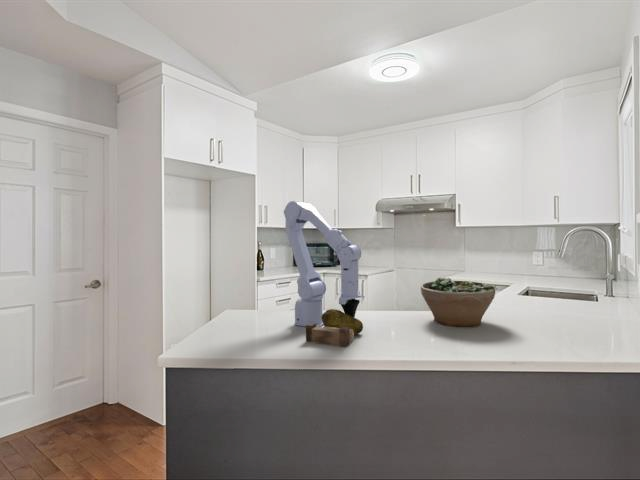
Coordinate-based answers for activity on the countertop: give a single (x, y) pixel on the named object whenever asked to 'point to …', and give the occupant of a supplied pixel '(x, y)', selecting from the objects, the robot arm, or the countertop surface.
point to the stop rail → (327, 335)
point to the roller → (351, 333)
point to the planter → (458, 301)
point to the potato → (341, 320)
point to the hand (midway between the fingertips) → (350, 321)
